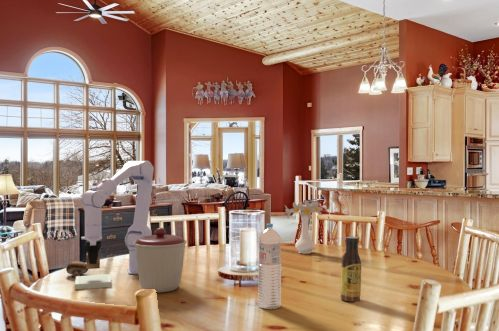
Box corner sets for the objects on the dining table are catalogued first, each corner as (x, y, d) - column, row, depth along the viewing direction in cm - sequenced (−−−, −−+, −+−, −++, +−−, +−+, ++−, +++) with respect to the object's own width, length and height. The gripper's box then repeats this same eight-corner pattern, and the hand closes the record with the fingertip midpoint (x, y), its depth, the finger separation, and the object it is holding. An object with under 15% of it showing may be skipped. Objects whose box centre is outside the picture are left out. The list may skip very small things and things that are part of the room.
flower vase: (282, 250, 238) (282, 199, 237) (319, 250, 239) (319, 199, 239) (287, 255, 225) (287, 202, 224) (325, 255, 226) (326, 201, 226)
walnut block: (99, 265, 175) (99, 251, 175) (99, 268, 171) (99, 254, 171) (86, 266, 174) (86, 252, 174) (86, 269, 170) (86, 254, 170)
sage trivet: (110, 278, 180) (110, 274, 180) (111, 286, 169) (111, 281, 169) (76, 281, 176) (76, 276, 176) (74, 289, 165) (74, 284, 165)
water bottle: (257, 303, 149) (257, 222, 149) (279, 302, 150) (279, 222, 149) (259, 310, 142) (259, 225, 142) (282, 309, 143) (282, 225, 143)
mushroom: (79, 271, 179) (79, 255, 182) (61, 278, 180) (61, 262, 184) (92, 277, 185) (92, 262, 189) (75, 283, 187) (75, 269, 190)
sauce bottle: (347, 303, 149) (348, 239, 149) (336, 298, 155) (336, 236, 155) (365, 301, 152) (365, 238, 151) (353, 296, 157) (353, 235, 157)
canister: (193, 284, 173) (193, 225, 173) (176, 297, 155) (175, 232, 155) (146, 281, 176) (146, 223, 176) (123, 294, 159) (123, 230, 159)
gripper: (81, 222, 178) (81, 259, 178) (80, 227, 164) (80, 267, 164) (101, 221, 180) (101, 258, 180) (102, 226, 166) (102, 266, 166)
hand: (93, 262), depth 172 cm, fingers closed on walnut block, 4 cm apart
